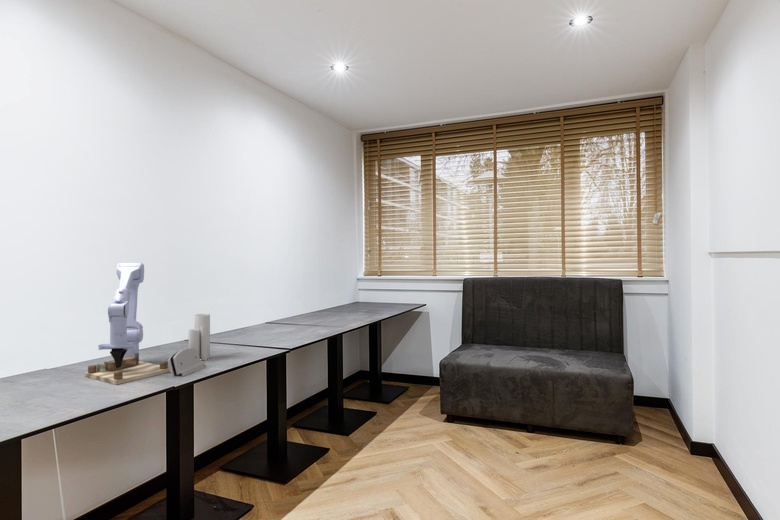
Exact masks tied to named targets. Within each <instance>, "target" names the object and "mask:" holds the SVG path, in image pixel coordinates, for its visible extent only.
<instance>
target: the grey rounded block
mask: <svg viewBox="0 0 780 520" xmlns="http://www.w3.org/2000/svg"><path fill="white" fill-rule="evenodd" d="M167 362H168V367H170V371H171V372H170V375H171V377H174V376H178V375H181V376H182V378H183V377H186V376H187V375H190V374H192V373H194V372H196V371H199V370H201V369H203V368H205V367H206V364H205V362H204V361H201V360H200V357H199V355H198V353H197V350H196V349H189V348H184V349H181V350H178V351H176V352H175V353H173V354H172V355H170V356H169V358H168V360H167Z"/></svg>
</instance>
